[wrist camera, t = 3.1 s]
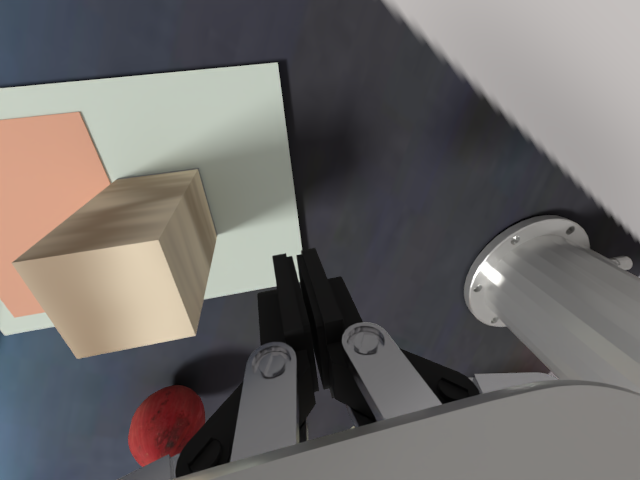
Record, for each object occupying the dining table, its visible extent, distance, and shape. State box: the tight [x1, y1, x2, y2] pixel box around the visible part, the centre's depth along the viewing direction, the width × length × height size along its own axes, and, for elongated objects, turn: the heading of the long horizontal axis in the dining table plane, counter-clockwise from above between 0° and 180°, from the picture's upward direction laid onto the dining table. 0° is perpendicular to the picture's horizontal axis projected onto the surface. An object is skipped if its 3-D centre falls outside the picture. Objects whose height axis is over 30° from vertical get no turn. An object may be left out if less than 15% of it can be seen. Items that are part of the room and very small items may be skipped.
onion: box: [128, 385, 205, 467], centre depth 26 cm, size 6×6×8 cm
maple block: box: [12, 168, 217, 359], centre depth 17 cm, size 5×5×10 cm
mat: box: [0, 62, 302, 335], centre depth 21 cm, size 23×16×1 cm
